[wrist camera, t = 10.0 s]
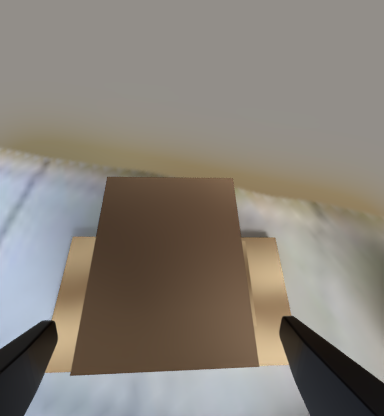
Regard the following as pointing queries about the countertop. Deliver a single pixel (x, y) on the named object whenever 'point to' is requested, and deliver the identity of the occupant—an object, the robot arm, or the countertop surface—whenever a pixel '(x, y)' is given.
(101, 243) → the walnut board piece
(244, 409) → the countertop surface
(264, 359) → the oak base board
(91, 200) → the countertop surface
